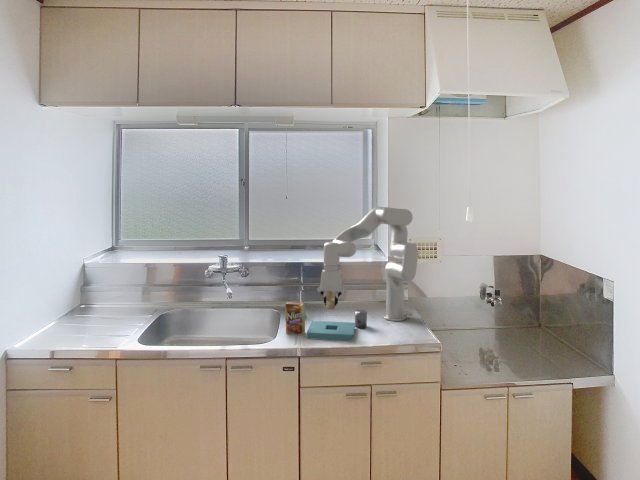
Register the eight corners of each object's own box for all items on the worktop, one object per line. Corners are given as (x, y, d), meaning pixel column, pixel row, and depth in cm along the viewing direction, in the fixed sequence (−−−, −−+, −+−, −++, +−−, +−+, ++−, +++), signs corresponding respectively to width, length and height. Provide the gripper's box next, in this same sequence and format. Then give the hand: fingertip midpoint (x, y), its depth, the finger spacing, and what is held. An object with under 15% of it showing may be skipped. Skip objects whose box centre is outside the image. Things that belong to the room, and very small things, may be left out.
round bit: (366, 324, 199) (366, 309, 198) (366, 328, 193) (366, 313, 192) (355, 324, 199) (355, 309, 198) (354, 328, 194) (354, 313, 192)
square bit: (335, 307, 187) (335, 289, 186) (334, 309, 183) (334, 291, 182) (327, 306, 187) (327, 288, 186) (326, 309, 183) (326, 290, 182)
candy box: (285, 333, 187) (284, 303, 185) (288, 330, 191) (288, 301, 189) (302, 335, 184) (302, 305, 182) (305, 332, 189) (305, 302, 186)
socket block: (354, 328, 194) (354, 322, 193) (353, 340, 178) (353, 334, 177) (312, 326, 196) (311, 320, 196) (306, 338, 181) (306, 332, 180)
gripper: (349, 267, 185) (348, 303, 187) (315, 265, 187) (314, 301, 190) (348, 270, 178) (347, 308, 180) (313, 268, 180) (312, 306, 182)
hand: (330, 304), depth 185 cm, fingers closed on square bit, 4 cm apart
